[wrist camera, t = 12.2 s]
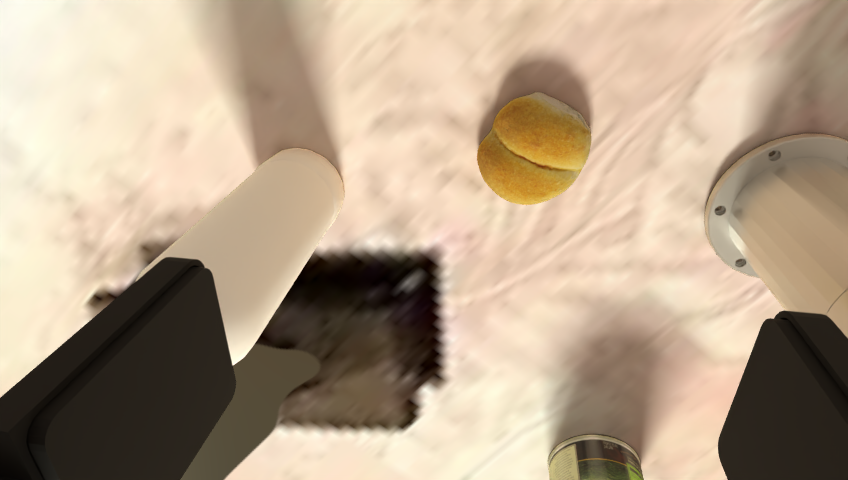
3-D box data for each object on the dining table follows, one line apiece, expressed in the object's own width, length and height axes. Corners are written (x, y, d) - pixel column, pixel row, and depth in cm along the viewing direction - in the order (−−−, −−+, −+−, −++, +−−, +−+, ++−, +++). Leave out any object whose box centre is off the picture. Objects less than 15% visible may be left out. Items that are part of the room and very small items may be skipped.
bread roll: (464, 171, 46) (460, 189, 42) (516, 76, 42) (517, 88, 38) (547, 213, 47) (550, 234, 43) (607, 124, 42) (616, 140, 39)
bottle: (360, 212, 49) (192, 512, 23) (289, 236, 51) (63, 534, 25) (319, 133, 46) (71, 376, 20) (245, 163, 48) (-63, 416, 22)
